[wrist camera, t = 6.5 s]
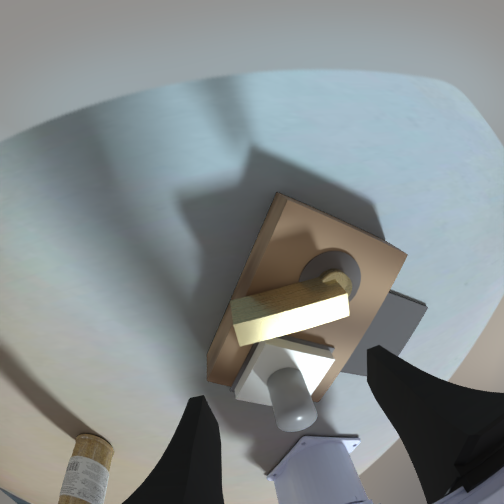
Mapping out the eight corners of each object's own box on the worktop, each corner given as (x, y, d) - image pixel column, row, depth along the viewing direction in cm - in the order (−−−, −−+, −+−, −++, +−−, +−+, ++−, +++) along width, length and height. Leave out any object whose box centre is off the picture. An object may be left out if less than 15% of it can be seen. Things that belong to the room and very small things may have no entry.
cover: (297, 400, 21) (312, 446, 17) (234, 389, 20) (240, 438, 16) (330, 350, 20) (354, 395, 16) (263, 334, 19) (276, 383, 14)
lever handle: (345, 264, 18) (364, 282, 15) (348, 293, 18) (366, 314, 16) (228, 295, 17) (231, 320, 15) (237, 324, 18) (241, 350, 16)
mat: (381, 376, 26) (382, 378, 26) (322, 366, 24) (323, 368, 24) (426, 306, 24) (427, 307, 24) (369, 284, 22) (371, 286, 22)
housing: (307, 380, 25) (317, 406, 22) (205, 357, 23) (205, 385, 20) (386, 241, 21) (409, 255, 18) (276, 191, 19) (288, 200, 16)
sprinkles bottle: (91, 455, 26) (71, 549, 13) (68, 432, 24) (39, 531, 12) (122, 454, 26) (107, 556, 13) (100, 430, 25) (75, 540, 12)
